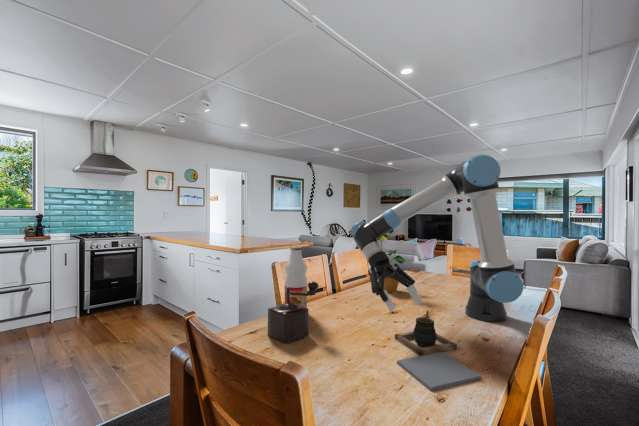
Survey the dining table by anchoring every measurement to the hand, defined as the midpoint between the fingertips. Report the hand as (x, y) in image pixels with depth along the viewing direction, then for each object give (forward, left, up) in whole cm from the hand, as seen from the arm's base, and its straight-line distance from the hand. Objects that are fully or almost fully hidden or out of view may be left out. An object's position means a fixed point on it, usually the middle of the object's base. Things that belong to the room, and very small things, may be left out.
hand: (406, 306), depth 104 cm
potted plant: (-29, -55, -11) cm, 63 cm away
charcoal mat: (+5, +21, -11) cm, 24 cm away
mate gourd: (-3, +6, -11) cm, 13 cm away
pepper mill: (+35, -16, -11) cm, 40 cm away
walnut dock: (-3, +6, -11) cm, 13 cm away
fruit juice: (+29, -36, -11) cm, 48 cm away
